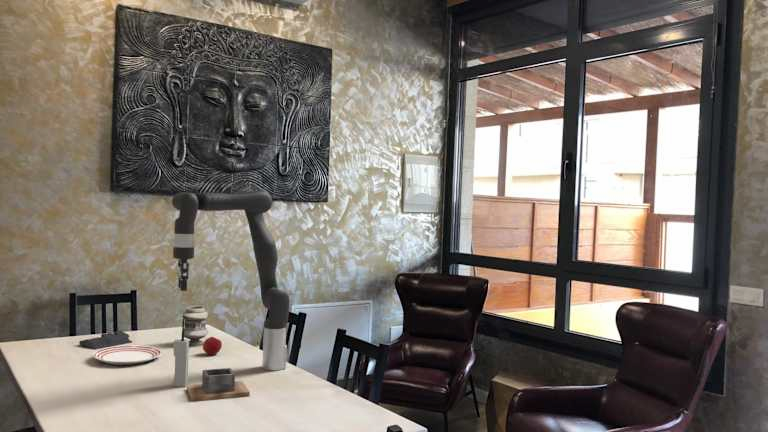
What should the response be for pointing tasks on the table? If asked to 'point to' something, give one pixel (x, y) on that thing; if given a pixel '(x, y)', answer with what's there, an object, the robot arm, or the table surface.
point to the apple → (212, 345)
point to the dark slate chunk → (107, 340)
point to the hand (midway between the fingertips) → (182, 289)
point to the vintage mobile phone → (181, 361)
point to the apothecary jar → (195, 325)
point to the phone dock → (217, 386)
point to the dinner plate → (127, 354)
